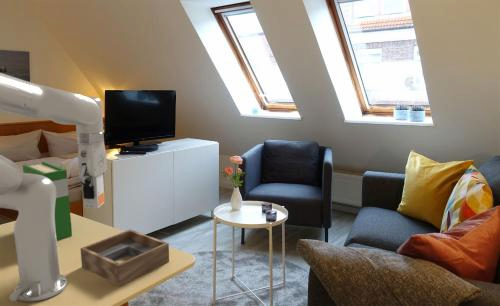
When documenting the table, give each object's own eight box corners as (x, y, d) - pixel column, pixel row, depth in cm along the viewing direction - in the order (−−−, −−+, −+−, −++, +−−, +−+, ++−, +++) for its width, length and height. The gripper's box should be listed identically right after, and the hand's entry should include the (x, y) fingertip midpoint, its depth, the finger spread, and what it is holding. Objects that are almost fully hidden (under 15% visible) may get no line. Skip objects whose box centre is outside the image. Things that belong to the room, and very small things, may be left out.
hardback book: (29, 228, 149) (22, 165, 144) (50, 223, 155) (44, 161, 150) (50, 242, 138) (43, 173, 133) (72, 236, 143) (66, 169, 138)
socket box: (169, 261, 125) (168, 243, 124) (120, 286, 111) (118, 266, 110) (131, 246, 136) (130, 229, 134) (81, 267, 121) (80, 248, 120)
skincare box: (98, 209, 125) (95, 171, 122) (84, 208, 125) (81, 170, 122) (105, 202, 131) (103, 166, 128) (92, 202, 131) (89, 166, 128)
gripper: (89, 143, 115) (93, 204, 118) (114, 134, 132) (117, 187, 135) (63, 142, 115) (68, 203, 119) (91, 133, 132) (95, 186, 136)
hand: (94, 194), depth 127 cm, fingers closed on skincare box, 6 cm apart
